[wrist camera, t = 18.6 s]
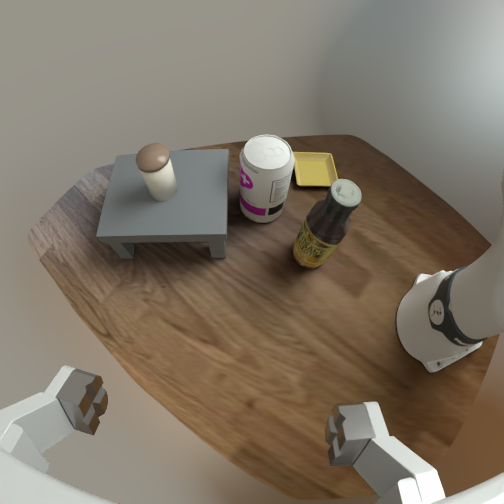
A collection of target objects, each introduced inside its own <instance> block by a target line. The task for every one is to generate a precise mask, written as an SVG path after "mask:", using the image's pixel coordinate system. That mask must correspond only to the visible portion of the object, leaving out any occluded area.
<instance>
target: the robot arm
mask: <svg viewBox="0 0 504 504" xmlns="http://www.w3.org/2000/svg"><path fill="white" fill-rule="evenodd" d="M501 184H502V195H503V209H502V218H501V222H500V227H499V230H498V233H497V236H496V238H495V240H494V242H493V244H492V245H491V247H490V248H489V249H488V250H487V251H486V252H485V253H484V254H483V255H482V256H481V257H480V258H478V259H477V260H476V261H475V262H473V263H472V264H471V265H469V266H466V267H462V268H460V269H457V270H455V271H448V272H445V271H440V272H438V273H436V274H434V275H427V274H420V275H418V276H417V277H416V279H415V282H414V284H413V287H412V289H411V290H410V291H409V292H408V293H407V294H406V295H405V296H404V298H403V299H402V301H401V303H400V305H399V308H398V312H397V331H398V335H399V338H400V341H401V343H402V345H403V346H404V348H405V349H406V351H407V352H408V353H409V354H410V355H411V356H413V357H414V358H416V359H417V360H419V361H421V362H422V363H423V365H424V366H425V368H426V369H427V370H428V371H429V372H430V373H433V372H436V371H438V370H440V369H442V368H444V367H446V366H448V365H450V364H451V363H453V362H455V361H457V360H459V359H460V358H462V357H464V356H466V355H467V354H469V353H471V352H472V351H474V350H476V349H477V348H479V347H480V346H481V345H482V341H484V340H485V339H487V338H488V337H490V336H493V335H496V334H500V333H503V332H504V171H503V176H502V183H501ZM437 362H438V365H437ZM102 384H103V381H102V378H101V376H98V375H94V374H91V373H88V372H85V371H82V370H79V369H76V368H73V367H70V366H67V365H65V366H63V367H62V368H61V369H60V371H59V372H58V373H57V375H56V376H55V378H54V379H53V380H52V382H51V383H50V385H49V386H48V388H47V389H46V390H45V392H44V393H42V392H40V393H38V394H35V395H33V396H31V397H29V398H27V399H25V400H22V401H20V402H18V403H16V404H13V405H11V406H9V407H7V408H5V409H2V410H0V504H119V503H116V502H113V501H110V500H107V499H104V498H101V497H99V496H96V495H93V494H91V493H88V492H85V491H83V490H80V489H78V488H76V487H73V486H71V485H69V484H67V483H64V482H62V481H60V480H58V479H56V478H54V477H52V476H50V475H48V474H46V471H47V470H48V467H49V462H48V461H47V459H46V458H45V457H44V456H43V455H42V453H43V452H44V451H46V450H47V449H48V448H50V447H51V446H53V445H54V444H56V443H57V442H59V441H60V440H62V439H63V438H64V437H66V436H67V435H69V434H70V433H72V432H73V431H74V429H75V430H79V431H81V432H84V433H87V434H91V435H94V434H95V432H96V430H97V427H98V425H99V423H100V421H99V418H98V417H99V416H101V415H103V414H104V413H105V411H106V409H107V404H108V395H107V392H106V390H105V389H103V387H102ZM332 414H333V415H332V416H330V417H329V418H328V420H327V423H326V428H325V437H326V442H327V443H328V444H329V445H330V448H329V450H328V457H329V464H330V466H346V465H353V467H354V468H355V470H356V471H357V472H358V473H359V474H360V475H361V476H362V478H363V479H364V480H365V481H366V482H367V483H368V484H369V485H370V487H371V488H372V489H373V490H374V491H375V492H376V493H377V494H378V495H379V496H380V499H379V500H378V501H376V502H375V503H374V504H504V472H503V473H501V474H499V475H497V476H495V477H493V478H491V479H489V480H487V481H485V482H483V483H481V484H479V485H476V486H474V487H472V488H470V489H467V490H465V491H462V492H460V493H458V494H455V495H453V496H450V497H447V498H446V497H445V494H444V491H443V488H442V485H441V482H440V479H439V476H438V474H437V471H436V469H434V468H433V467H432V466H430V465H429V464H428V463H427V462H425V461H424V460H423V459H421V458H420V457H419V456H418V455H416V454H415V453H414V452H412V451H411V450H410V449H409V448H407V447H406V446H405V445H404V444H402V443H401V442H400V441H399V440H397V439H396V438H395V437H394V436H389V433H388V430H387V427H386V424H385V422H384V419H383V416H382V413H381V410H380V407H379V404H378V403H377V402H363V403H362V402H358V403H339V404H335V405H334V406H333V408H332Z"/></svg>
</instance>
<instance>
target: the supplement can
mask: <svg viewBox="0 0 504 504" xmlns="http://www.w3.org/2000/svg"><path fill="white" fill-rule="evenodd" d="M294 162H295V159H294V155H293V152H292V151H291V147H290V146H289V145H288V143H287V142H286V141H284V140H283V139H281V138H280V137H277V136H274V135H260V136H256V137H254V138H252V139H250V140H249V141H248V142H247V143H246V145H245V147H244V148H243V149H242V151H241V154H240V208H241V210H242V212H243V214H244V215H245V216H246V217H248V218H249V219H250V220H253V221H255V222H262V223H266V222H270V221H273V220H275V219H276V218H278V217H279V216H280V215H281V213H282V212H283V209H284V205H285V201H286V197H287V193H288V188H289V184H290V180H291V175H292V171H293V167H294Z"/></svg>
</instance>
